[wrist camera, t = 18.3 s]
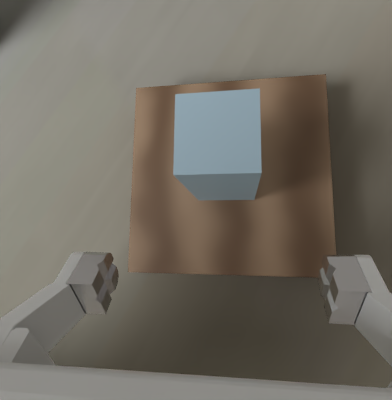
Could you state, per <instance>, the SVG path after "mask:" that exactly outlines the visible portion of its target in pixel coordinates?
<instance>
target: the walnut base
mask: <svg viewBox="0 0 392 400" xmlns="http://www.w3.org/2000/svg"><path fill="white" fill-rule="evenodd" d="M259 88H260V119H261V166H262V173H261V177H260V181H259V185H258V188H257V192H256V196H255V200H198V199H197V198H196V197H195V196H194V195H193V194H192V193H191V192H190V191H189V190H188V189H187V188H186V187H185V186H184V185H183V184H182V183H181V182H180V181H179V180H178V179H177V178H176V177H175V176H174V175H173V165H174V125H175V94H186V93H200V92H215V91H230V90H244V89H259ZM324 255H336V243H335V225H334V208H333V190H332V173H331V155H330V138H329V120H328V103H327V85H326V74H323V75H309V76H296V77H282V78H268V79H255V80H241V81H227V82H213V83H200V84H186V85H172V86H159V87H145V88H136V107H135V128H134V150H133V172H132V194H131V216H130V238H129V260H128V272H143V273H178V274H213V275H248V276H282V277H317V278H318V276H319V270H320V269H322V268H323V265H322V258H323V256H324Z"/></svg>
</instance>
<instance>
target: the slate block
mask: <svg viewBox="0 0 392 400" xmlns="http://www.w3.org/2000/svg"><path fill="white" fill-rule="evenodd" d="M261 173H262V166H261V119H260V88H259V89H244V90H230V91H215V92H200V93H186V94H175V125H174V165H173V175H174V176H175V177H176V178H177V179H178V180H179V181H180V182H181V183H182V184H183V185H184V186H185V187H186V188H187V189H188V190H189V191H190V192H191V193H192V194H193V195H194V196H195V197H196V198H197V199H198V200H255V196H256V192H257V188H258V185H259V181H260V177H261Z"/></svg>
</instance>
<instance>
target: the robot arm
mask: <svg viewBox="0 0 392 400" xmlns="http://www.w3.org/2000/svg"><path fill="white" fill-rule="evenodd" d="M112 262H113V256H112V254H111V253H103V252H73V253H72V254H71V255H70V256H69V258H68V260H67V261H66V263H65V265H64V266H63V268H62V270H61V271H60V273H59V275H58V276H57V278H56V280H55V281H54V283H53V284H49V285H47V286H46V287H44V288H43V289H41V290H40V291H39V292H37V293H36V294H34V295H33V296H31V297H30V298H29V299H27V300H26V301H24V302H23V303H21V304H20V305H19V306H17V307H16V308H14V309H13V310H11V311H10V312H9V313H7V314H6V315H4V316H3V317H2V318H0V400H392V381H391V382H390V384H389V385H388V387H387V388H380V387H365V386H350V385H336V384H321V383H306V382H292V381H277V380H263V379H248V378H234V377H219V376H205V375H190V374H175V373H160V372H146V371H131V370H116V369H101V368H87V367H72V366H57V365H55V363H54V361H53V360H52V358H51V357H50V356H49V355H48V352H49V351H50V350H51V349H52V348H53V347H54V346H55V345H56V344H57V343H58V342H59V341H60V340H61V339H62V338H63V337H64V336H65V335H66V334H67V333H68V332H69V331H70V330H71V329H72V328H73V327H74V326H75V325H76V324H77V323H78V322H79V321H80V320H81V319H82V318H83V317H84V316H85V314H106V312H107V310H108V307H109V305H110V302H111V300H112V299H111V296H110V294H111V293H112V292H113V291H114V290H115V289H116V286H117V284H118V270H117V267H116V266H115V265H114V264H112ZM322 265H323V268H322V269H320V270H319V276H318V284H319V290H320V294H321V296H322V297H323V298H324V299H325V304H324V308H325V312H326V315H327V318H328V322H329V323H335V324H350V325H354V326H355V327H356V328H357V329H358V331H359V332H360V333H361V334H362V335H363V336H364V337H365V338H366V339H367V340H368V342H369V343H370V344H371V345H372V346H373V347H374V348H375V349H376V350H377V351H378V352H379V354H380V355H381V356H382V357H383V358H384V359H385V360H386V361H387V362H388V363H389V364H390V366H391V367H392V293H390V292H389V290H388V288H387V286H386V284H385V282H384V280H383V278H382V277H381V275H380V273H379V271H378V269H377V267H376V265H375V263H374V261H373V259H372V257H371V256H370V255H324V256H323V258H322Z"/></svg>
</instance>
